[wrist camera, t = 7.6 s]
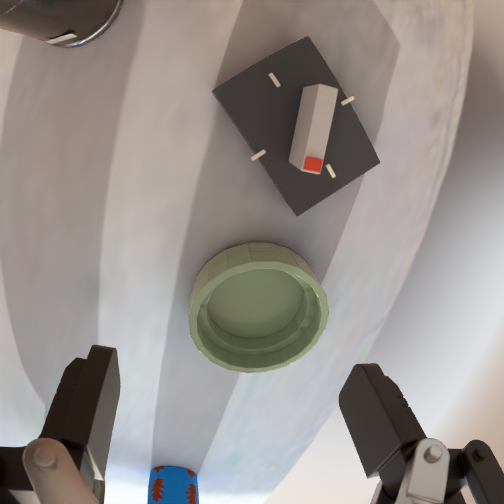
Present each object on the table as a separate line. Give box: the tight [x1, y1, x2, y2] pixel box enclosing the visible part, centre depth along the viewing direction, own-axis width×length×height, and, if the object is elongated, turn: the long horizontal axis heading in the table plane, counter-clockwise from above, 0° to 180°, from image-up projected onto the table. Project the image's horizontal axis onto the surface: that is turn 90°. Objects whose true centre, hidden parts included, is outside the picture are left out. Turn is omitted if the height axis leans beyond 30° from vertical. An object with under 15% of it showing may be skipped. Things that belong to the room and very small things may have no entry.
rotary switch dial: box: [212, 36, 380, 216], centre depth 28 cm, size 14×11×3 cm
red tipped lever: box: [289, 84, 338, 174], centre depth 24 cm, size 7×2×5 cm, turn 170°
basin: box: [189, 243, 329, 373], centre depth 35 cm, size 15×15×5 cm
